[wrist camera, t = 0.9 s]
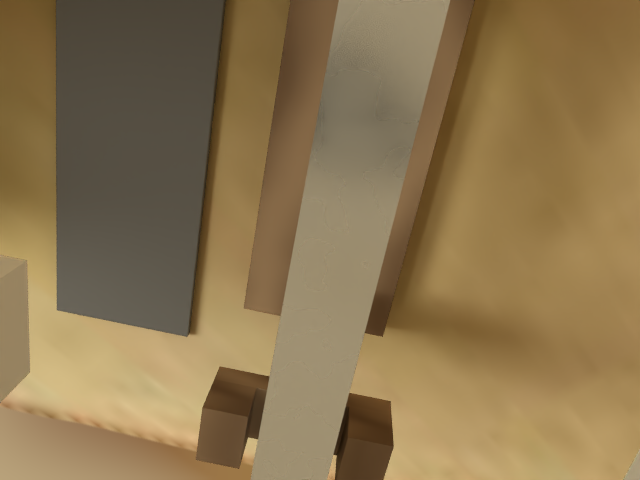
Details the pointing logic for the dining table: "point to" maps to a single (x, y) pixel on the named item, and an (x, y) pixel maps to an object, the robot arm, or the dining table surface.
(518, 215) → the dining table surface
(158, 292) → the rubber mat
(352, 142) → the steel rail
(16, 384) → the robot arm
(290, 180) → the hook rack
